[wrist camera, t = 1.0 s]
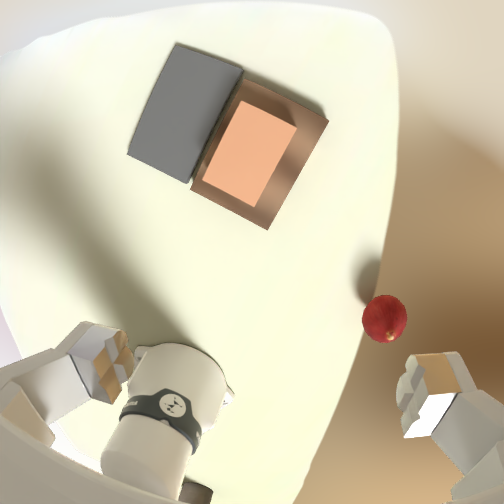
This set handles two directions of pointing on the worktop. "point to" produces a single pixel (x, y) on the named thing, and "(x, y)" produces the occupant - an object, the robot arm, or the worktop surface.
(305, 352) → the worktop surface
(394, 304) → the onion
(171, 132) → the mat
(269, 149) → the orange rectangular block
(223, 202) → the board
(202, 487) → the pillar candle
